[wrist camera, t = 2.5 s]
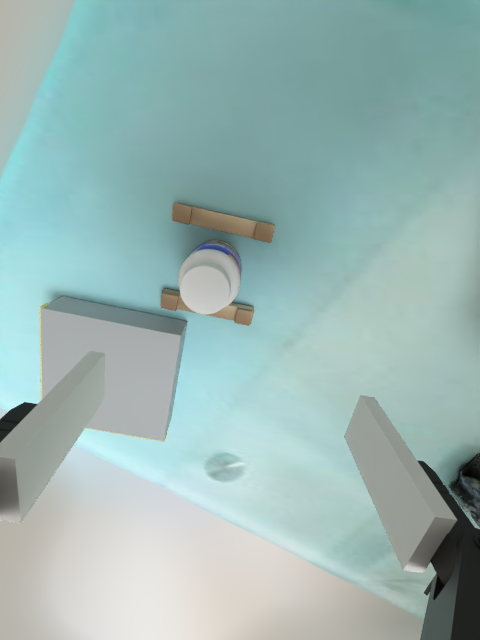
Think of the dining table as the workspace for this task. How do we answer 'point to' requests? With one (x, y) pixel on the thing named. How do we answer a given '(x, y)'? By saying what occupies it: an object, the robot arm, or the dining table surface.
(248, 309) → the wooden rail rack
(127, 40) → the dining table surface
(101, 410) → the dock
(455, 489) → the stone block
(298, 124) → the dining table surface
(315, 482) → the dining table surface
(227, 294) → the pill bottle
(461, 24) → the dining table surface
